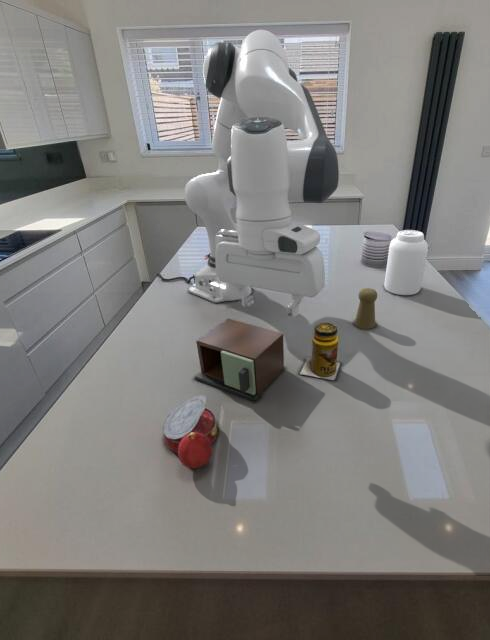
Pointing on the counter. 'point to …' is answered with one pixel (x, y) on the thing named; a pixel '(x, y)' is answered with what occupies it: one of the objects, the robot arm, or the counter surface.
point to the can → (375, 248)
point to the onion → (195, 450)
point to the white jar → (406, 263)
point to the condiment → (323, 353)
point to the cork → (366, 309)
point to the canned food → (189, 422)
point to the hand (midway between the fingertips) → (269, 310)
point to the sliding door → (238, 372)
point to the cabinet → (240, 354)
